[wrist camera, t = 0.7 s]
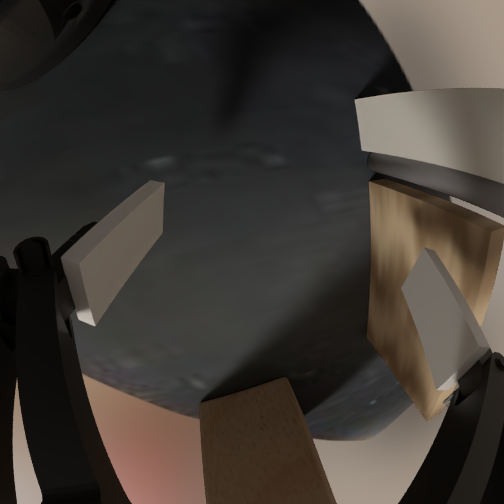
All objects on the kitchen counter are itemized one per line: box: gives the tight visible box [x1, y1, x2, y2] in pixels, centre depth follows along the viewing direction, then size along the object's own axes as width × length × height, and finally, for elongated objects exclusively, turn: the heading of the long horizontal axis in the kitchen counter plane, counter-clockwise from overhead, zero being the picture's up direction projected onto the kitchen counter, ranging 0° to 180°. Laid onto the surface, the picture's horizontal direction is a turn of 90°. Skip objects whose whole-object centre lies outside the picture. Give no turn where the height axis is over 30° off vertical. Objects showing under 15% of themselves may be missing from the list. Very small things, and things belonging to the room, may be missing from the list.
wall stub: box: [355, 88, 504, 218], centre depth 12 cm, size 6×2×16 cm, turn 10°
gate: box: [366, 179, 504, 421], centre depth 18 cm, size 16×3×12 cm, turn 10°
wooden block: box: [199, 377, 337, 504], centre depth 20 cm, size 10×10×20 cm
